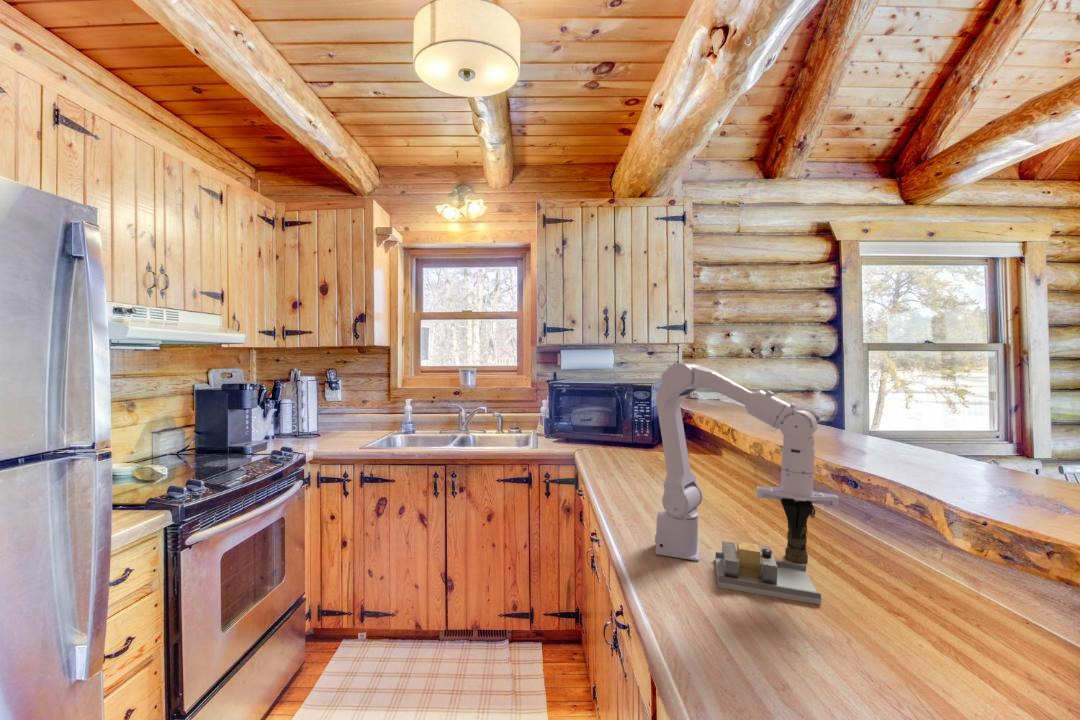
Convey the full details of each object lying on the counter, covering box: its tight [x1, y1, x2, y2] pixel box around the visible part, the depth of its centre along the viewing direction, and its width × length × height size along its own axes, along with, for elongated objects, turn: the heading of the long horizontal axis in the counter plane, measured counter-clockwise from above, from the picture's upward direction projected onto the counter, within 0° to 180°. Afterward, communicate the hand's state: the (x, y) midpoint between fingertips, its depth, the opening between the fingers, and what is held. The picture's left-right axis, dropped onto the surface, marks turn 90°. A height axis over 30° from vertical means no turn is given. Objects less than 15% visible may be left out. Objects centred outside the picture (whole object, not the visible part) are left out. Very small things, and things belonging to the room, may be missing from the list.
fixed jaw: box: [721, 541, 739, 579], centre depth 99 cm, size 3×10×4 cm, turn 162°
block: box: [736, 541, 760, 579], centre depth 97 cm, size 4×4×6 cm
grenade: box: [784, 504, 816, 564], centre depth 108 cm, size 9×6×15 cm, turn 154°
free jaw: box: [757, 544, 778, 585], centre depth 96 cm, size 3×10×5 cm, turn 162°
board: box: [714, 551, 822, 606], centre depth 97 cm, size 18×13×2 cm
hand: (794, 536), depth 95 cm, fingers closed
